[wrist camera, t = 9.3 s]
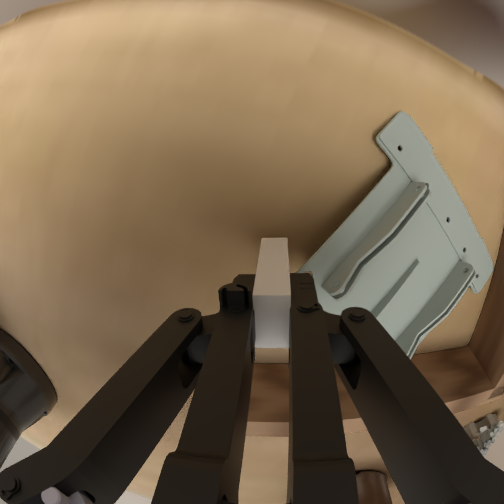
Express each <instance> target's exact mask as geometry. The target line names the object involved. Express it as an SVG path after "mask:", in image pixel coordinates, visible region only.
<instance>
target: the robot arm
mask: <svg viewBox="0 0 504 504" xmlns="http://www.w3.org/2000/svg"><path fill="white" fill-rule="evenodd" d="M218 292H219V301H220V311H219V312H218V313H216V314H213V315H208V316H202V315H201V312H200V311H198V310H196V309H193V308H185V309H180V310H178V311H176V312H174V313H173V314H172V315H171V316H170V317H169V318H168V319H167V320H166V321H165V322H164V323H163V324H162V325H161V326H160V327H159V328H158V329H157V330H156V331H155V332H154V333H153V334H152V335H151V336H150V337H149V338H148V340H147V341H146V342H145V343H144V344H143V345H142V346H141V347H140V348H139V349H138V350H137V351H136V352H135V353H134V354H133V355H132V356H131V357H130V358H129V359H128V360H127V361H126V363H125V364H124V365H123V366H122V367H121V368H120V369H119V370H118V371H117V372H116V373H115V374H114V375H113V376H112V377H111V378H110V379H109V380H108V382H107V383H106V384H105V385H104V386H103V387H102V388H101V389H100V390H99V391H98V392H97V393H96V394H95V395H94V396H93V397H92V399H91V400H90V401H89V402H88V403H87V404H86V405H85V406H84V407H83V408H82V409H81V410H80V411H79V412H78V414H77V415H76V416H75V417H74V418H73V419H72V420H71V421H70V422H69V423H68V424H67V425H66V426H65V428H64V429H63V430H62V431H61V432H60V433H59V434H58V435H57V436H56V437H55V438H54V440H53V441H52V442H51V443H50V444H49V445H48V446H47V447H45V448H43V449H42V450H40V451H38V452H36V453H34V454H32V455H31V456H29V457H27V458H25V459H23V460H21V461H19V462H18V463H16V464H14V465H12V466H10V467H8V468H6V469H4V470H3V471H2V472H1V473H0V497H1V499H3V500H4V501H5V502H6V503H8V504H114V503H115V502H116V501H117V500H118V499H119V497H120V496H121V495H122V494H123V492H124V491H125V490H126V488H127V487H128V485H129V484H130V483H131V481H132V480H133V478H134V477H135V476H136V474H137V473H138V471H139V470H140V468H141V467H142V466H143V464H144V463H145V461H146V460H147V458H148V457H149V456H150V454H151V453H152V451H153V450H154V448H155V447H156V445H157V444H158V442H159V441H160V440H161V438H162V437H163V435H164V434H165V432H166V431H167V429H168V428H169V426H170V425H171V423H172V422H173V420H174V419H175V417H176V416H177V414H178V413H179V411H180V410H181V408H182V407H183V405H184V404H185V402H186V401H187V399H188V398H189V396H190V395H191V393H192V392H193V390H194V389H195V391H194V394H193V397H192V401H191V404H190V407H189V410H188V414H187V417H186V420H185V424H184V427H183V430H182V434H181V437H180V440H179V444H178V447H177V449H176V451H175V452H171V453H169V454H168V455H167V456H166V459H165V461H164V464H163V467H162V470H161V473H160V477H159V480H158V483H157V486H156V489H155V493H154V496H153V499H152V502H151V504H238V490H239V482H240V474H241V467H242V459H243V451H244V443H245V436H246V428H247V419H248V411H249V403H250V395H251V386H252V378H253V369H254V360H255V348H289V364H288V368H289V453H288V489H287V503H286V504H359V499H358V490H357V481H356V472H355V466H354V462H353V460H352V459H351V458H349V457H348V455H347V449H346V442H345V434H344V427H343V420H342V413H341V407H340V400H339V394H338V388H337V382H336V376H335V370H334V367H335V369H336V371H337V373H338V375H339V377H340V379H341V381H342V382H343V384H344V386H345V388H346V390H347V392H348V394H349V396H350V397H351V399H352V401H353V403H354V405H355V407H356V409H357V411H358V413H359V415H360V416H361V418H362V420H363V422H364V424H365V426H366V428H367V430H368V432H369V434H370V436H371V437H372V439H373V441H374V443H375V445H376V447H377V449H378V451H379V453H380V455H381V457H382V459H383V461H384V463H385V465H386V467H387V469H388V471H389V473H390V475H391V476H392V478H393V480H394V482H395V484H396V486H397V488H398V490H399V492H400V494H401V496H402V498H403V500H404V502H405V504H504V471H502V470H501V469H499V468H498V467H496V466H495V465H493V464H492V463H490V462H489V461H487V460H486V459H485V458H484V457H483V455H482V454H481V452H480V451H479V450H478V448H477V447H476V445H475V444H474V442H473V441H472V440H471V438H470V437H469V435H468V434H467V433H466V431H465V430H464V429H463V427H462V426H461V424H460V423H459V422H458V420H457V419H456V418H455V416H454V415H453V414H452V412H451V411H450V410H449V408H448V407H447V406H446V404H445V403H444V402H443V400H442V399H441V398H440V396H439V395H438V394H437V393H436V391H435V390H434V389H433V387H432V386H431V385H430V384H429V382H428V381H427V380H426V378H425V377H424V376H423V375H422V373H421V372H420V371H419V370H418V368H417V367H416V366H415V365H414V363H413V362H412V361H411V360H410V359H409V357H408V356H407V355H406V354H405V352H404V351H403V350H402V349H401V348H400V346H399V345H398V344H397V343H396V341H395V340H394V339H393V338H392V337H391V335H390V334H389V333H388V332H387V331H386V330H385V328H384V327H383V326H382V325H381V324H380V322H379V321H378V320H377V319H376V318H375V317H374V315H373V314H372V313H371V312H370V311H368V310H367V309H364V308H361V307H349V308H346V309H344V310H343V311H342V313H341V315H336V314H331V313H328V312H326V311H324V310H323V307H322V306H321V304H320V303H318V298H317V293H316V289H315V283H314V278H313V277H312V276H311V275H310V274H309V273H290V271H289V256H288V242H287V238H262V240H261V246H260V252H259V258H258V265H257V271H256V274H239V275H238V276H237V277H236V278H234V280H233V283H230V284H227V285H224V286H222V287H221V288H220V289H219V290H218ZM56 402H57V396H56V393H55V390H54V388H53V386H52V384H51V383H50V381H49V379H48V378H47V376H46V375H45V373H44V372H43V371H42V369H41V368H40V367H39V365H38V364H37V363H36V362H35V361H34V359H33V358H32V357H31V356H30V355H29V354H28V353H27V352H26V351H25V350H24V349H23V348H22V347H21V346H20V345H19V344H18V343H17V342H16V341H15V340H14V339H13V338H12V337H10V336H9V335H8V334H7V333H5V332H4V331H2V330H0V468H1V467H2V465H3V463H4V461H5V460H6V458H7V456H8V454H9V453H10V451H11V450H12V448H13V446H14V445H15V443H16V441H17V440H18V438H19V437H20V435H21V433H22V432H23V431H24V430H26V429H27V428H29V427H30V426H32V425H33V424H34V423H36V422H37V421H38V420H40V419H41V418H42V417H43V416H46V415H48V414H49V413H50V412H51V410H52V409H53V407H54V406H55V404H56Z"/></svg>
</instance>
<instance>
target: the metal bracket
mask: <svg viewBox="0 0 504 504" xmlns="http://www.w3.org/2000/svg"><path fill="white" fill-rule="evenodd" d="M376 142H377V144H378V145H379V146H380V147H381V149H382V150H383V151H384V152H385V154H386V155H387V156H388V157H389V159H390V160H391V162H392V166H391V168H390V169H389V171H388V172H387V173H386V174H385V175H384V176H383V178H382V179H381V180H380V181H379V182H378V183H377V184H376V186H375V187H374V188H373V189H372V190H371V191H370V193H369V194H368V195H367V196H366V197H365V198H364V199H363V201H362V202H361V203H360V204H359V205H358V206H357V207H356V208H355V210H354V211H353V212H352V213H351V214H350V215H349V216H348V217H347V218H346V220H345V221H344V222H343V223H342V224H341V225H340V226H339V227H338V228H337V230H336V231H335V232H334V233H333V234H332V235H331V236H330V237H329V238H328V239H327V240H326V242H325V243H324V244H323V245H322V246H321V247H320V248H319V249H318V250H317V251H316V252H315V253H314V254H313V255H312V257H311V258H310V259H309V260H308V261H307V262H306V263H305V264H304V265H303V266H302V267H301V268H300V269H299V270H298V271H297V272H296V273H305V272H307V271H311V272H312V277H313V278H314V283H315V289H316V293H317V298H318V303H320V304H321V306H322V307H323V310H324V311H326V312H328V313H331V314H336V315H341V313H342V311H343V310H344V309H346V308H349V307H361V308H364V309H367V310H368V311H370V312H371V313H372V314H373V315H374V317H375V318H376V319H377V320H378V321H379V322H380V324H381V325H382V326H383V327H384V328H385V330H386V331H387V332H388V333H389V334H390V335H391V337H392V338H393V339H394V340H395V341H396V343H397V344H398V345H399V346H400V348H401V349H402V350H403V351H404V352H405V354H406V355H407V356H408V357H409V359H411V358H412V356H413V354H414V352H415V350H416V348H417V346H418V344H419V343H420V342H421V341H422V340H423V339H424V337H425V336H426V335H427V334H428V333H429V332H430V331H431V330H432V329H433V328H434V327H436V326H437V325H438V324H439V323H440V322H441V321H442V320H444V319H445V318H446V317H447V316H448V315H449V314H450V312H451V311H452V310H453V308H454V307H455V306H456V304H457V303H458V301H459V300H460V299H461V297H462V296H463V294H464V293H465V292H466V290H467V289H468V287H469V286H470V288H471V290H472V292H473V293H475V294H476V293H479V292H480V291H481V289H482V288H483V286H484V284H485V283H486V281H487V280H488V278H489V277H490V275H491V273H492V272H493V262H492V259H491V257H490V254H489V252H488V250H487V247H486V245H485V243H484V240H483V238H480V236H479V233H478V231H477V229H476V227H475V225H474V223H473V221H472V219H471V217H470V215H469V213H468V211H467V209H466V208H465V206H464V204H463V202H462V200H461V198H460V197H459V195H458V193H457V191H456V189H455V188H454V186H453V184H452V183H451V181H450V179H449V178H448V176H447V174H446V173H445V171H444V170H443V168H442V166H441V165H440V163H439V162H438V160H437V159H436V157H435V156H434V154H433V147H432V146H431V144H430V143H429V141H428V140H427V138H426V137H425V135H424V134H423V133H422V131H421V130H420V128H419V127H418V126H417V124H416V123H415V122H414V120H413V119H412V118H411V116H410V115H408V114H406V113H405V112H403V111H400V112H398V113H397V114H396V115H395V116H394V117H393V118H392V119H391V120H390V121H389V122H388V124H387V125H386V126H385V127H384V128H383V129H382V130H381V131H380V132H379V133H378V134H377V136H376ZM398 146H400V147H401V151H399V150H398ZM425 183H427V185H426V184H425ZM447 217H448V222H447V221H446V219H447ZM464 248H465V250H464V252H463V249H464ZM476 275H477V277H476Z"/></svg>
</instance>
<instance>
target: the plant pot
mask: <svg viewBox="0 0 504 504" xmlns="http://www.w3.org/2000/svg"><path fill="white" fill-rule="evenodd" d="M356 481H357V490H358V499H359V504H392V500H391V497H390V493H389V489H388V485H387V481H386V477H385V475H384V474H383V473H380V472H375V471H362V472H359V473H358V474H356Z"/></svg>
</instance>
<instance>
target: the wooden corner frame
mask: <svg viewBox="0 0 504 504" xmlns="http://www.w3.org/2000/svg"><path fill="white" fill-rule="evenodd" d="M410 360H411V361H412V362H413V363H414V365H415V366H416V367H417V368H418V370H419V371H420V372H421V373H422V375H423V376H424V377H425V378H426V380H427V381H428V382H429V384H430V385H431V386H432V387H433V389H434V390H435V391H436V393H437V394H438V395H439V396H440V398H441V399H442V400H443V402H444V403H445V404H446V406H447V407H448V408H449V410H450V411H451V412H452V414H454V413H457V412H461V411H464V410H467V409H470V408H473V407H477V406H480V405H482V404H485V403H488V402H491V401H494V400H496V399H499V398H500V397H501V395H502V394H503V392H504V230H503V235H502V240H501V245H500V249H499V253H498V258H497V262H496V266H495V270H494V273H493V277H492V280H491V284H490V287H489V290H488V294H487V297H486V300H485V303H484V306H483V309H482V312H481V315H480V317H479V320H478V323H477V325H476V328H475V330H474V333H473V335H472V338H471V340H470V343H469V345H468V346H465V347H460V348H455V349H449V350H443V351H437V352H431V353H424V354H417V355H413V356H412V358H411V359H410ZM334 370H335V376H336V382H337V388H338V394H339V400H340V407H341V413H342V420H343V427H344V434H346V433H355V432H364V431H368V430H367V428H366V426H365V424H364V422H363V420H362V418H361V416H360V415H359V413H358V411H357V409H356V407H355V405H354V403H353V401H352V399H351V397H350V396H349V394H348V392H347V390H346V388H345V386H344V384H343V382H342V381H341V379H340V377H339V375H338V373H337V371H336V369H335V367H334ZM246 436H276V437H288V436H289V368H288V364H254V369H253V378H252V386H251V395H250V403H249V411H248V419H247V428H246Z"/></svg>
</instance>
